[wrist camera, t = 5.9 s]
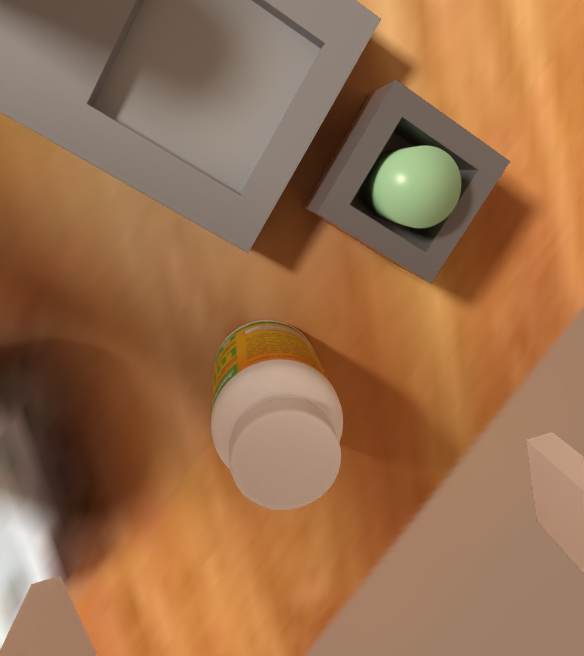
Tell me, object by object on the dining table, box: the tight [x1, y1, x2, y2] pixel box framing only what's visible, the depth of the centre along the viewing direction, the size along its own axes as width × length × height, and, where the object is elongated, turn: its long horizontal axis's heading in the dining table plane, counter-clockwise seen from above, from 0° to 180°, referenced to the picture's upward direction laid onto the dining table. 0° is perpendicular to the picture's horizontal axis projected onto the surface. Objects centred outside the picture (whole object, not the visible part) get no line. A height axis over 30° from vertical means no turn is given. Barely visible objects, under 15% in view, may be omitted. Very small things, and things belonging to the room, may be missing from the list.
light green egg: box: [360, 146, 461, 228], centre depth 23 cm, size 3×3×4 cm
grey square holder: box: [303, 79, 510, 283], centre depth 24 cm, size 6×6×4 cm
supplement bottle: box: [211, 320, 343, 510], centre depth 23 cm, size 5×5×10 cm
